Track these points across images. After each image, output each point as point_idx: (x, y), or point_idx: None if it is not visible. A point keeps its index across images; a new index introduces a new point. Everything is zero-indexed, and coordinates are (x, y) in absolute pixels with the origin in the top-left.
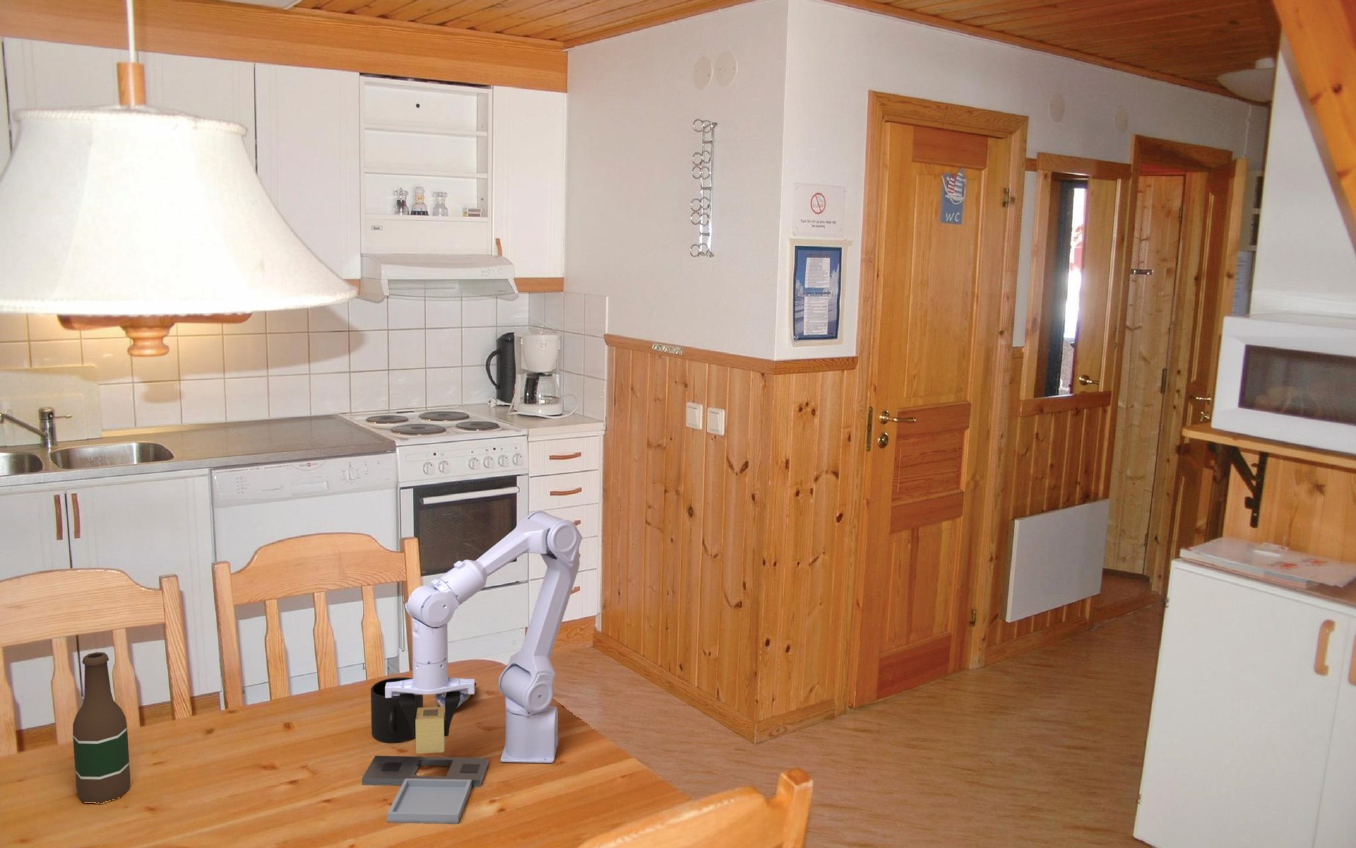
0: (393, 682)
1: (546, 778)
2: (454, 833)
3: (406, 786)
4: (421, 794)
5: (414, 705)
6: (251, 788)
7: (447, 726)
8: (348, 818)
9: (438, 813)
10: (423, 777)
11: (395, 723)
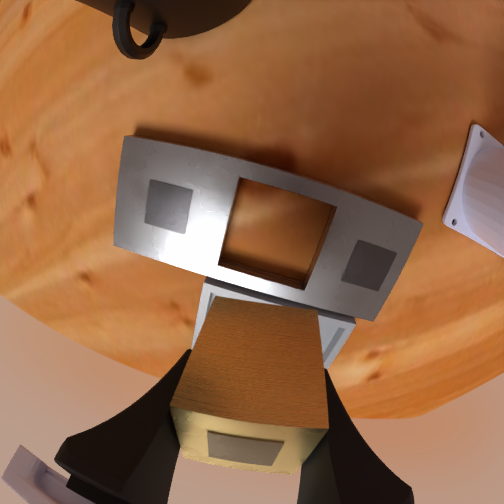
0: (23, 498)
1: (475, 303)
2: None
3: (210, 297)
4: None
5: (164, 498)
6: (4, 212)
7: None
8: (131, 337)
9: None
10: (248, 280)
11: (155, 20)
